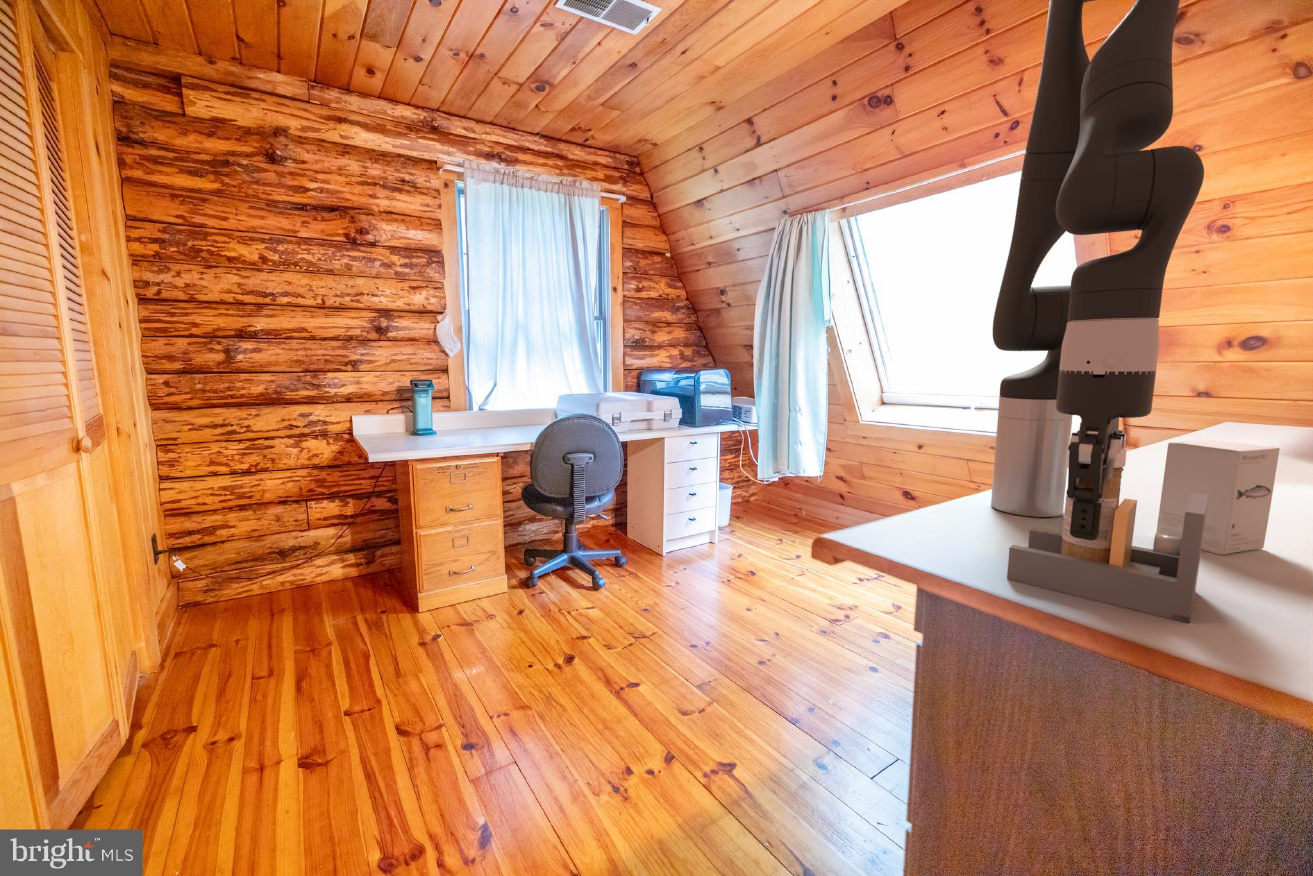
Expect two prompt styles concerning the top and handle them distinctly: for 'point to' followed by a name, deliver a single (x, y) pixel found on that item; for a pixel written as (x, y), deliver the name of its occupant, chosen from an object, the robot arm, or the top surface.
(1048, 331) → the robot arm
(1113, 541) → the block
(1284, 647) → the top surface
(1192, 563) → the lane
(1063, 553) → the sprinkles bottle
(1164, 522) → the supplement box
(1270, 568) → the top surface
